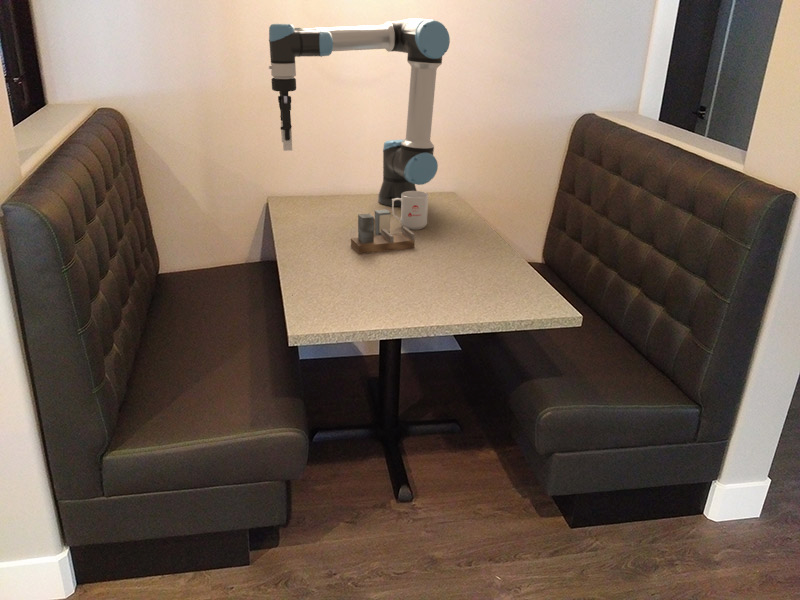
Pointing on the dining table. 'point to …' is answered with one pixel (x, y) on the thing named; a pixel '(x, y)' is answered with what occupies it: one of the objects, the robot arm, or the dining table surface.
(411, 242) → the wooden block stand
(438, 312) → the dining table surface
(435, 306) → the dining table surface
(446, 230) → the dining table surface
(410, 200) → the mug
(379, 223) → the grey block tan top
